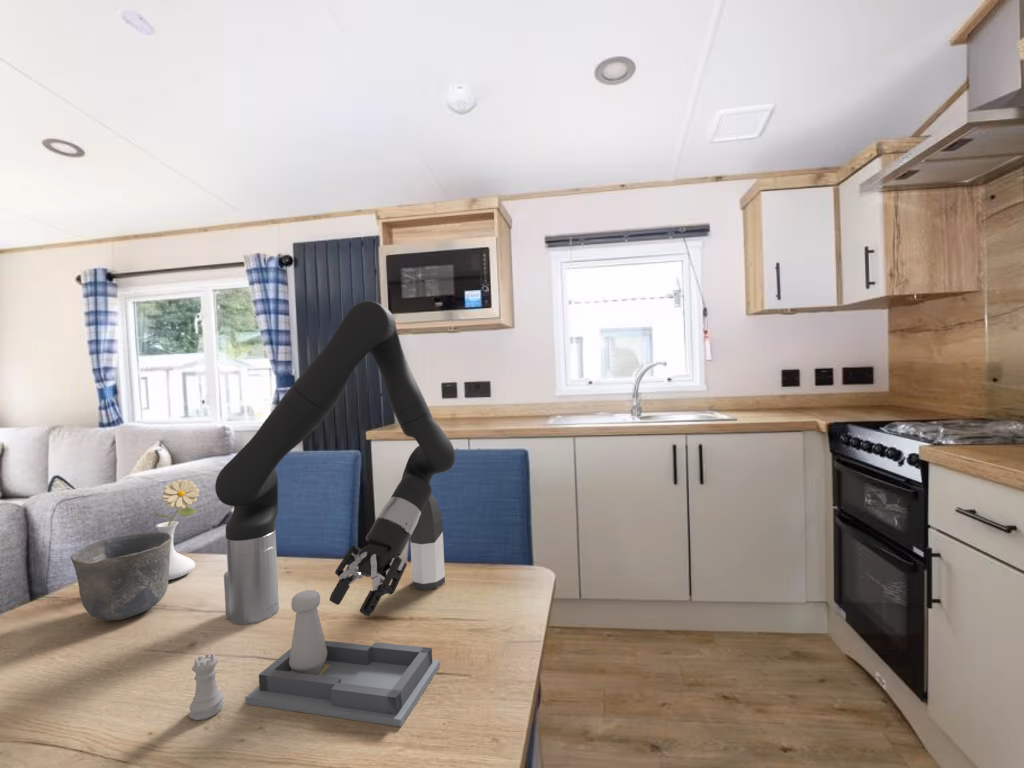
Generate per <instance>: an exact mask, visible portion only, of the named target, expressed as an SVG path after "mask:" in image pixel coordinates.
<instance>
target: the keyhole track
mask: <svg viewBox="0 0 1024 768" xmlns="http://www.w3.org/2000/svg"><path fill="white" fill-rule="evenodd" d="M325 644H326V648H327V658H326V661H325V663H324V666H323V669H322V670H321V672H320V673H319V675H312V674H304V673H296V672H293V671H292V669H291V667H290V665H289V658H290V652H291V648H289V649H288V650H286V652H285V653H283V654H282V655H281V656H280V657H278V658H277V659H276V660H274V661H273V662H272V663H271V664H270V665H268V666H267V667H266V668H265V669H263V671H261V672H260V673H259V674H258V683H259V685H258V686H257V687H256V688H254V689H253V690H251V692H250V693H248V694H247V695H246V696H245V699H244V700H245V701H244V703H245V705H250V706H251V705H252V706H257V707H258V706H259V707H264V708H265V707H266V708H271V709H272V708H273V709H279V710H283V711H284V710H286V711H292V712H298V713H299V712H300V713H306V714H312V715H318V716H326V717H333V718H338V719H345V720H353V721H358V722H359V721H360V722H365V723H373V724H379V725H385V726H386V725H387V726H393V727H400V728H402V726H403V725H404V724H405V722H406V720H407V719H408V717H409V715H410V714H411V713H412V711H413V710H414V708H415V706H416V705H417V703H418V702H419V700H420V698H421V697H422V696H423V694H424V692H425V690H426V689H427V688H428V686H429V684H430V683H431V681H432V680H433V678H434V677H435V676H436V673H437V672H438V671H439V669H440V667H441V662H440V660H437V659H435V660H434V659H433V652H432V651H433V650H432V647H425V646H418V645H417V646H415V645H407V644H406V645H405V644H396V643H389V642H388V643H387V642H377V641H375V642H373V644H371V645H370V644H361V643H360V644H359V643H349V642H340V641H332V640H325Z"/></svg>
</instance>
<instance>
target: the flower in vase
mask: <svg viewBox="0 0 1024 768" xmlns="http://www.w3.org/2000/svg"><path fill="white" fill-rule="evenodd" d="M164 487H165V488H164V489H163V492H162V496H161V497H162V498H161V500H162V501H163V502H164V504H166V505H167V507H168V508H173V509H176V510H175V513H173V516H172V517H171V516H169V515H166V514H160V513H157V512H154V515H155V516H157V517H161V518H168V519H170V520H169V521H166V522H161V523H158V524H155V525H154V528H155V529H157V530H158V532H165V533H168V534H170V536H171V537H172V539H171V544H170V565H169V577H168V581H170V580H171V581H172V580H174V579H177V578H181V577H183V576H186V575H187V574H189V573H190V572H192V571H193V570H194V569H195V567H196V565H197V564H196V562H195V561H194V560H193V559H191V558H190V557H188V556H186V555H183V554H181V553H179V552H177V551H176V549H175V547H174V537H175V535H174V534H175V530H176V528H177V525H179V520H178V521H176V520H174V521H173V519H174V518H175V516H176V515H177V514H178V515H180V516H182V517H183V518H185V517H189V516H191V515H194V514H195V513H197V510H196V509H194V508H193V507H191V505H193V504H194V503H196V502H197V500H198V498H197V497H199V493H200V489H199V488H197V485H195V484H194V482H193V481H191V480H187V479H183V480H182V479H177V480H175V481H171V483H170V484H169V483H168V484H167V485H165V486H164ZM189 506H190V507H189Z"/></svg>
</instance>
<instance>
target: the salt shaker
mask: <svg viewBox="0 0 1024 768" xmlns="http://www.w3.org/2000/svg"><path fill="white" fill-rule="evenodd" d="M320 604H321V595H320V593H319V592H318V591H317V590H315V589H309V590H308V589H307V590H302V591H299V592H297V593H296V594H294V595H293V596H292V599H291V603H290V605H291V609H292V611H293V612H294V613H295V618H294V619H295V621H294V629H293V635H292V641H291V647H290V649H291V652H290V658H289V665H290V667H291V669H292V671H293V672H296V673H304V674H312V675H319V673H320V672H321V670H322V669H323V666H324V663H325V661H326V658H327V648H326V644H325V641H326V640H325V636H324V632H323V628H322V627H323V626H322V623H321V620H320V616H319V611H318V607H319V606H320Z"/></svg>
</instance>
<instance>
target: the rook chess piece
mask: <svg viewBox="0 0 1024 768" xmlns="http://www.w3.org/2000/svg"><path fill="white" fill-rule="evenodd" d="M216 665H218V659H217V658H216V657H215V654H213V653H211V654H210V653H206V654H205V657H203V655H199V656H198V658H197V659H195V660H194V664H193V666H192V667H191V671H192V672H194V673H195V676H194V680H195V692H194V696H193V698H192V700H191V703H190V705H189V713H188V715H189V717H190V718H191V719H192V720H194V721H198V722H199V721H206V720H208V719H210V718H212V717H214V716H216V715H217V714H219V713H220V711H222V709H223V708H224V705H225V701H224V699H225V698H224V695H223V692H221V689H220V688H218V686H217V681H216V674H217V670H216V669H215V667H216Z"/></svg>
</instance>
